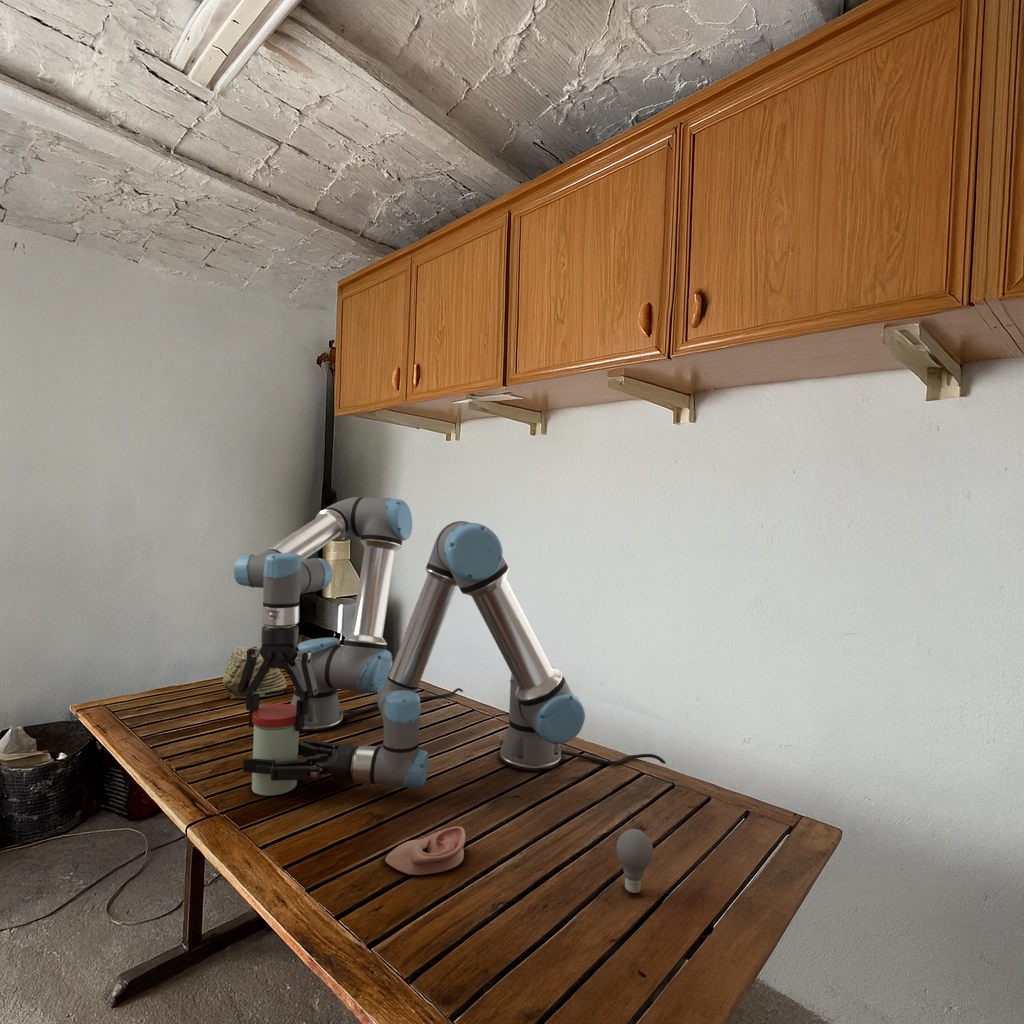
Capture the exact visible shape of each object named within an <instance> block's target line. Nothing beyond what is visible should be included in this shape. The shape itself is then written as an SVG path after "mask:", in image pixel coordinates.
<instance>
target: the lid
mask: <svg viewBox="0 0 1024 1024" xmlns="http://www.w3.org/2000/svg"><path fill="white" fill-rule="evenodd" d="M290 704H291V703H290ZM290 704H287V703H277V704H276V703H275V704H268V705H264V706H261V707H260V706H259V708H258V709H256V710H254V711H253V714H252V723H253V724H254V725H256V726H259V727H264V728H279V727H286V726H290V725H293V724H295V723H296V706H295V705H290Z"/></svg>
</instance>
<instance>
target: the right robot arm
mask: <svg viewBox="0 0 1024 1024" xmlns="http://www.w3.org/2000/svg"><path fill="white" fill-rule="evenodd" d="M434 541H435V542H434V544H433V547H432V549H431V553H430V556H429V558H428V560H427V561H428V562H427V564H426V566H425V571H426V573H427V575H426V578H425V581H424V583H423V585H422V588H421V591H420V593H419V596H418V599H417V601H416V604H415V607H414V609H413V611H412V614H411V617H410V619H409V622H408V624H407V627H406V629H405V631H404V634H403V637H402V639H401V642H400V645H399V647H398V649H397V652H396V655H395V657H394V659H393V661H392V667H391V670H390V672H389V675H388V678H387V680H386V682H385V683H384V684H383V685H382V686H381V687H380V689H379V691H378V692H377V697H376V705H378V707H377V708H378V709H379V713H380V715H381V719H382V723H383V741H382V746H378V745H377V746H376V745H365V744H364V745H363V744H361V745H357V744H347V743H342V744H341V743H331V742H327V741H321V740H315V739H311V738H303V739H302V741H301V740H299V741H298V757H300V756H301V757H304V759H298V760H295V761H286V762H277V763H275V759H274V760H265V759H253V757H244V758H243V763H242V772H243V773H249V774H252V773H260V774H271V780H272V781H280V780H297V781H314V782H318V781H320V780H321V775H328V774H331V775H332V777H333V779H334V780H335V782H342V783H352V782H354V783H356V784H365V785H366V786H370V785H378V786H390V787H397V788H402V789H404V788H411V789H412V788H413V789H414V788H421V787H423V786H424V785H425V783H426V781H427V778H428V774H429V766H430V758H429V756H430V755H429V753H428V751H427V750H423V749H421V748H420V745H419V743H420V742H419V738H420V737H419V736H420V721H421V720H420V719H421V713H422V709H421V700H420V697H421V696H420V695H419V694H418V693H417V692H418V689H419V685H420V683H421V680H422V678H423V676H424V673H425V670H426V668H427V666H428V663H429V660H430V658H431V655H432V653H433V650H434V648H435V646H436V645H435V644H436V642H437V641H438V638H439V635H440V633H441V629H442V627H443V624H444V623H445V619H446V617H447V614H448V612H449V609H450V607H451V604H452V602H453V599H454V597H455V593H456V591H457V589H458V588H459V590H460V593H461V594H463V595H466V596H469V597H471V598H472V599H473V602H474V604H475V606H476V608H477V610H478V611H479V614H480V615H481V617H482V619H483V621H484V623H485V625H486V627H487V629H488V631H489V633H490V634H491V637H492V639H493V640H494V642H495V644H496V647H497V648H498V650H499V652H500V654H501V656H502V657H503V659H504V662H505V663H506V666H507V667H508V669H509V671H510V673H511V675H510V680H509V683H510V684H509V685H510V686H509V687H510V688H509V710H508V711H509V712H508V714H509V715H508V727H507V730H506V733H505V736H504V738H503V739H502V740H499V745H498V747H500V750H499V751H500V752H499V758H500V761H501V762H502V763H503V764H505V765H506V766H507V767H510V768H513V769H516V770H520V771H527V772H542V771H543V772H544V771H549V770H552V769H554V768H557V767H558V766H559V765H560V764H561V762H562V755H566V756H570V757H574V758H578V759H583V760H587V761H591V762H596V763H598V764H602V765H608V766H609V765H610V766H614V765H615V766H616V765H620V764H623V763H625V762H626V761H628V760H633V759H634V760H635V759H643V758H652V759H655V760H657V761H659V762H660V763H661V764H667V761H665V760H664V759H663V758H662V757H661V756H659V755H657V754H653V753H639V754H629V755H626V756H624V757H622V758H621V759H618V760H605V759H601V758H597V757H594V756H590V755H585V754H581V753H577V752H573V751H567V750H562V749H561V745H564V744H567V743H568V742H570V741H572V740H573V739H575V738H576V737H577V736H578V734H580V732H581V731H582V729H583V726H584V723H585V720H586V709H585V706H584V704H583V703H582V701H581V699H580V698H579V697H578V696H576V695H575V694H574V693H573V692H572V690H571V688H570V686H569V684H568V682H567V680H566V678H565V677H564V675H563V673H562V671H561V670H560V669H557V668H555V667H554V666H551V663H550V661H549V659H548V658H547V655H546V654H545V652H544V650H543V648H542V646H541V644H540V642H539V640H538V638H537V637H536V634H535V632H534V630H533V628H532V627H531V624H530V622H529V621H528V618H527V616H526V615H525V612H524V611H523V609H522V607H521V604H520V603H519V601H518V599H517V597H516V595H515V593H514V591H513V589H512V587H511V585H510V583H509V581H508V579H507V576H508V573H509V570H510V568H509V566H508V564H507V562H506V560H505V557H504V556H503V555H504V551H503V545H502V543H501V540H500V539H499V536H498V535H497V534H496V533H495V532H494V531H493V530H492V529H490V528H489V527H487V526H486V525H484V524H481V523H478V522H470V521H465V520H458V521H453V522H451V523H449V524H447V525H445V526H444V527H443V528H442V529H441V530H440V532H439V533H438V534H437V537H436V539H435V540H434Z"/></svg>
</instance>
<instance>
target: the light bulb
mask: <svg viewBox="0 0 1024 1024" xmlns="http://www.w3.org/2000/svg"><path fill="white" fill-rule="evenodd" d="M615 849H616V854H617V857H618V859H619V861H620V863H621V865H622V867H623V873H624V874H623V875H624V876H625V878H624V888H625V890H627V891H628V892H630V893H634V894H635V893H639V892H640V891H641V889H642V887H641V886H642V879H643V877H644V875H645V871H646V868H647V867H648V866H649V864H650V863H651V861H652V859H653V855H654V847H653V843H652V841H651V838H649V836H648V835H647V834H646V833H645V832H643V831H642V830H641V829H636V828H629V829H627V830H625V831H623V832H622V833H621V834H620V835H619V837H618V839H617V841H616V847H615Z"/></svg>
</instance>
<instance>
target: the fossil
mask: <svg viewBox="0 0 1024 1024" xmlns="http://www.w3.org/2000/svg"><path fill="white" fill-rule="evenodd" d="M250 648H251V647H247V646H246V647H245V646H238V647H237V648H236V649H235V650H233V651H232V653H231V656H230V657H229V659H228V660H227V663H226V666H225V668H224V671H223V675H222V676H223V677H222V685H223V687H224V688H225V690H226V691H228V693H229V698H230V699H246V695H245V694H244V693H242V692H241V693H239V692H238V691H237V689H238V686H239V683H240V680H241V676H242V673H243V670H244V667H245V664H246V661H247V650H248V649H250ZM263 661H264V659H263V658H262V656H261V655H259V657H258V658H257V662H256V665H255V668H254V671H253V675H252V678H251V681H250V684H251V682H252V681H253V679H254V677H255V676H256V674H257V672H258V671H259V669H260V666H261V665H262V663H263ZM250 684H249V686H250ZM287 687H288V686H287V680H286V678H285V676H284V674H283V673H282V672H281V669H279V668H270V669H269V671H268V673H267V674H266V676H265V677H264V679H263V681H262V682H261V684H260V686H259V687H258V689H257V692H255V694H256V693H257V694H259V698H264V697H271V696H275V695H281V694H284V693H285V691H286V689H287Z"/></svg>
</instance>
